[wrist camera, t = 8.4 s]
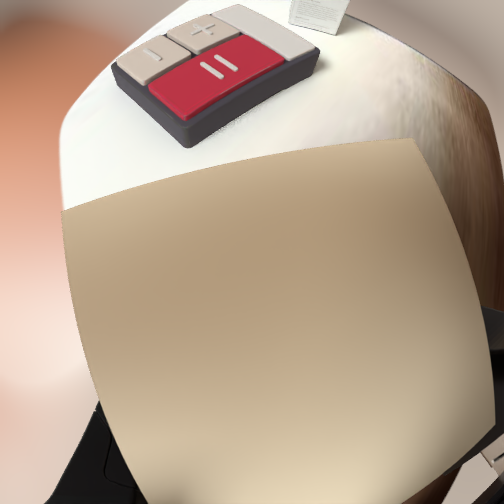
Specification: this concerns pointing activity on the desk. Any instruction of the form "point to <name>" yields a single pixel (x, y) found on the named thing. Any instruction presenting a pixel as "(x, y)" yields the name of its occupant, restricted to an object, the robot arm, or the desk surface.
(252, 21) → the calculator
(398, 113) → the desk surface
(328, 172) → the birch block
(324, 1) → the skincare box
